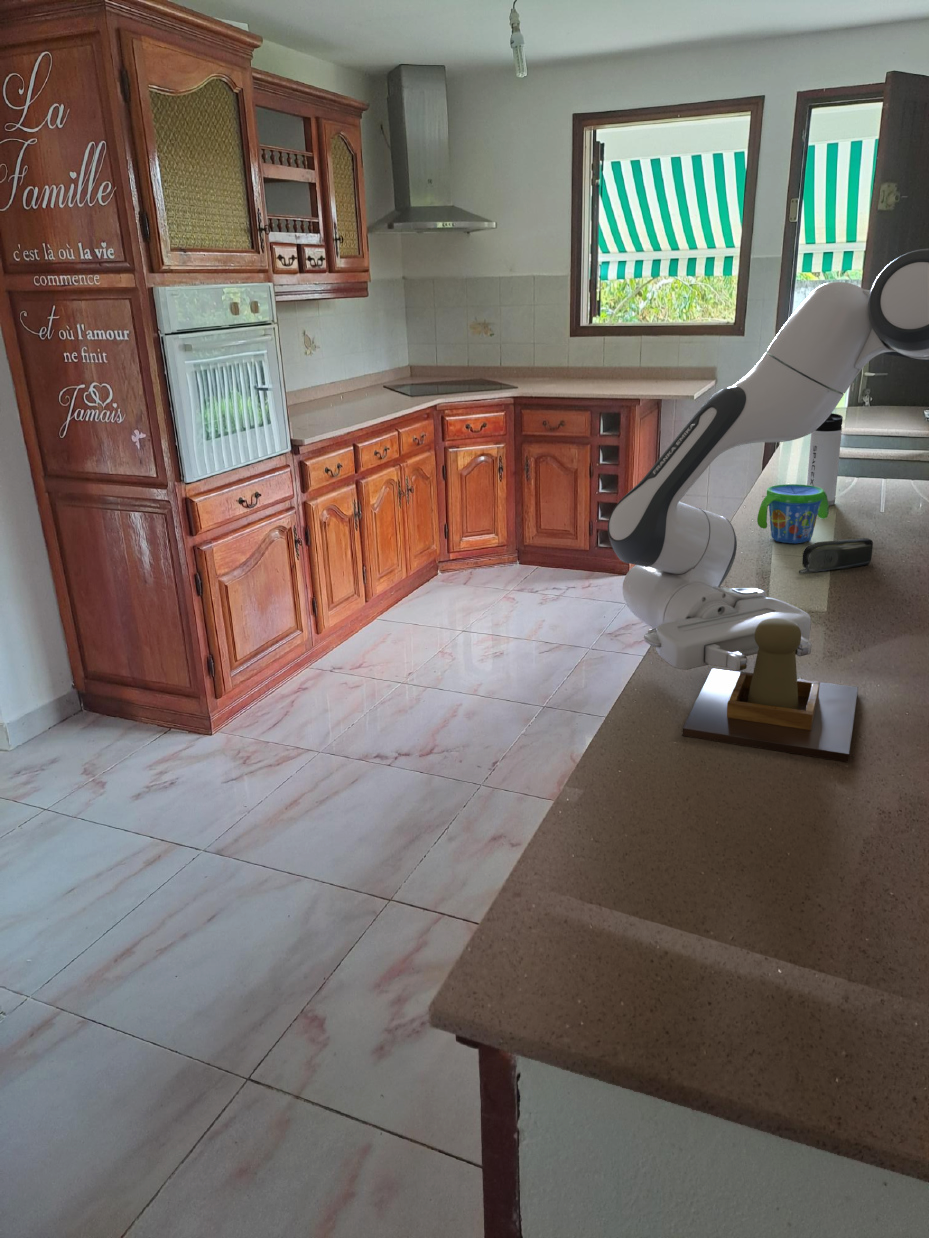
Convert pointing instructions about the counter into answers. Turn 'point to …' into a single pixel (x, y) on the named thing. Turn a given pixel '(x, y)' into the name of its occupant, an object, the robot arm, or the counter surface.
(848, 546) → the dark grey stapler
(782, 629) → the cork
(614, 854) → the counter surface
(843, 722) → the pad
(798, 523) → the snack cup
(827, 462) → the travel mug
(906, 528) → the counter surface
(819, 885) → the counter surface
